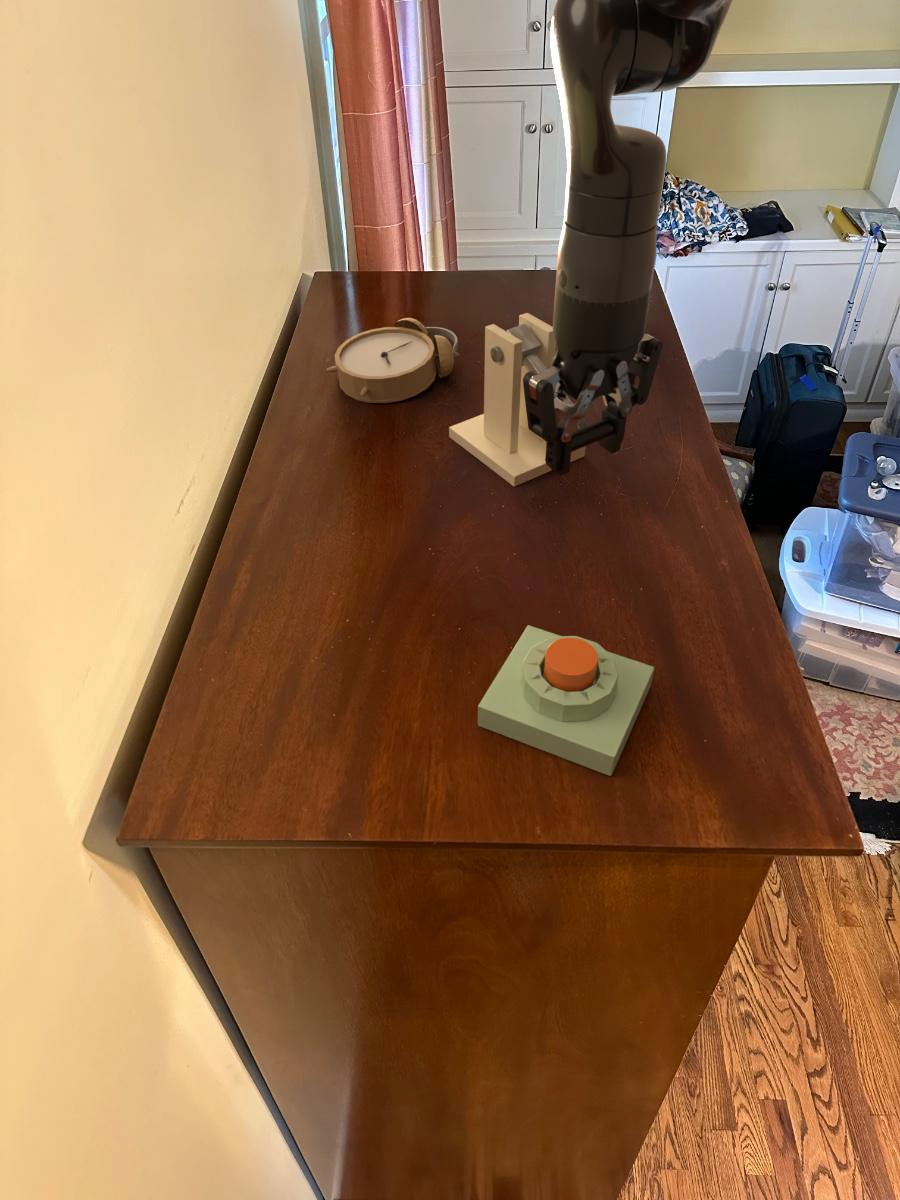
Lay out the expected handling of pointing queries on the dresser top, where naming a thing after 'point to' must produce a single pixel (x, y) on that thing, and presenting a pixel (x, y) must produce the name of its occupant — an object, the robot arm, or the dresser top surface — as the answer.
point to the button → (570, 664)
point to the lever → (582, 431)
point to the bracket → (508, 408)
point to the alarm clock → (394, 361)
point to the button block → (566, 704)
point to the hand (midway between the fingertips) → (584, 458)
